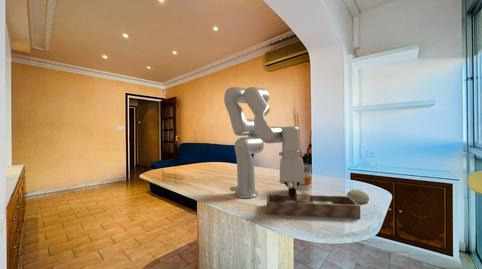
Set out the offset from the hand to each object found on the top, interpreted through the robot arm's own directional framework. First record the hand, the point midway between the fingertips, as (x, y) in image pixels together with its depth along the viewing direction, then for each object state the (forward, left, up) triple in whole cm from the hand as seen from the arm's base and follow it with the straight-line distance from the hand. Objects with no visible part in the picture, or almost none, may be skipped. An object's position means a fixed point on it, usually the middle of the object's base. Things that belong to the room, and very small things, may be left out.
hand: (292, 196), depth 86 cm
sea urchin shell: (+32, +15, -6) cm, 36 cm away
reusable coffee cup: (+7, +27, -6) cm, 29 cm away
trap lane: (+7, 0, -6) cm, 9 cm away
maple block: (+4, 0, -3) cm, 5 cm away
